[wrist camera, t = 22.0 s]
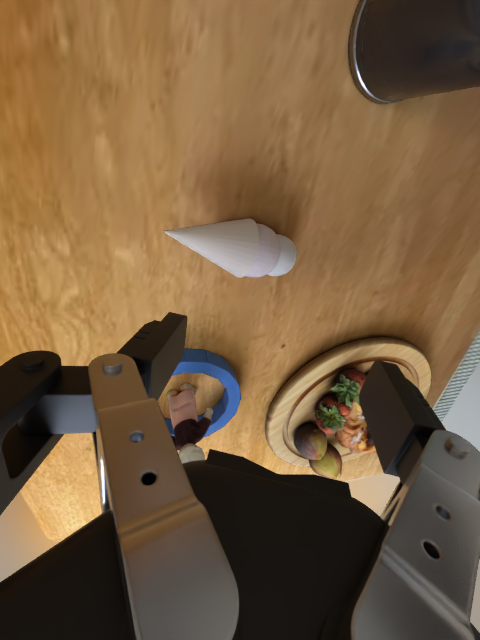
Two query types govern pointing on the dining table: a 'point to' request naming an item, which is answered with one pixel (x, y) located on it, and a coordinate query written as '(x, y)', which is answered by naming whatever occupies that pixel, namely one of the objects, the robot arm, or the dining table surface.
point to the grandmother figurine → (187, 423)
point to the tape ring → (218, 369)
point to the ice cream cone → (240, 247)
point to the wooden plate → (335, 404)
